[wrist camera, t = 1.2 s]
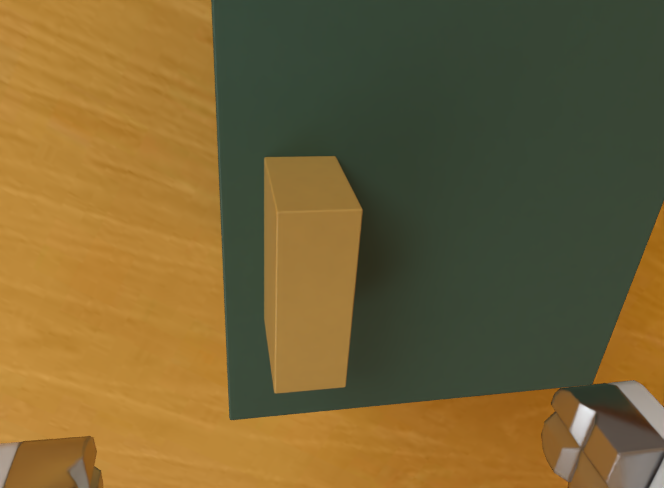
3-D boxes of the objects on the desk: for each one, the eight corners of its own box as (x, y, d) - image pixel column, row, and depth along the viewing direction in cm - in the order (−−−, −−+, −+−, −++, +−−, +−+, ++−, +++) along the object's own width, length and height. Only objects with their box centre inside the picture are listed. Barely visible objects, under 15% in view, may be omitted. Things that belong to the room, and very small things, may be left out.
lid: (210, -30, 12) (210, -7, 9) (719, -6, 15) (859, 19, 12) (229, 402, 19) (232, 504, 16) (580, 370, 21) (646, 452, 18)
